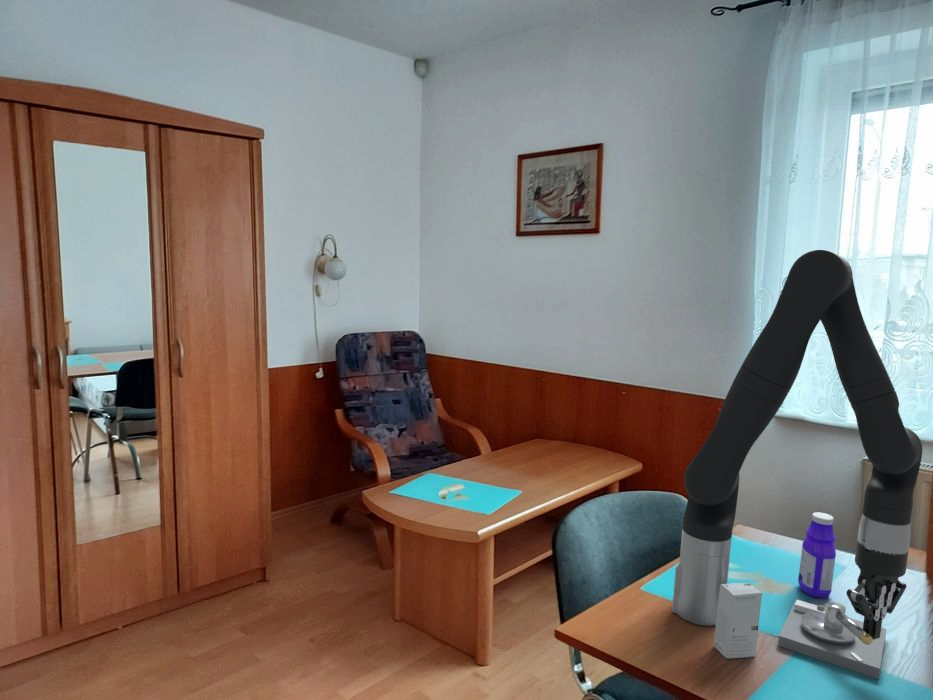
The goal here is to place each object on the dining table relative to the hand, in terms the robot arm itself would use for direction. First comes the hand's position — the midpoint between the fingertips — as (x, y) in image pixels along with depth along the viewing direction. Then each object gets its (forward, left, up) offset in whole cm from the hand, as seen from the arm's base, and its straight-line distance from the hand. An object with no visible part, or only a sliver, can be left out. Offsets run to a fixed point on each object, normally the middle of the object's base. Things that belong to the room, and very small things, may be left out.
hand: (870, 636), depth 117 cm
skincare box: (-20, -9, -6) cm, 23 cm away
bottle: (-12, +26, -6) cm, 29 cm away
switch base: (-6, +6, -6) cm, 10 cm away
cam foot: (-5, +2, -4) cm, 7 cm away
